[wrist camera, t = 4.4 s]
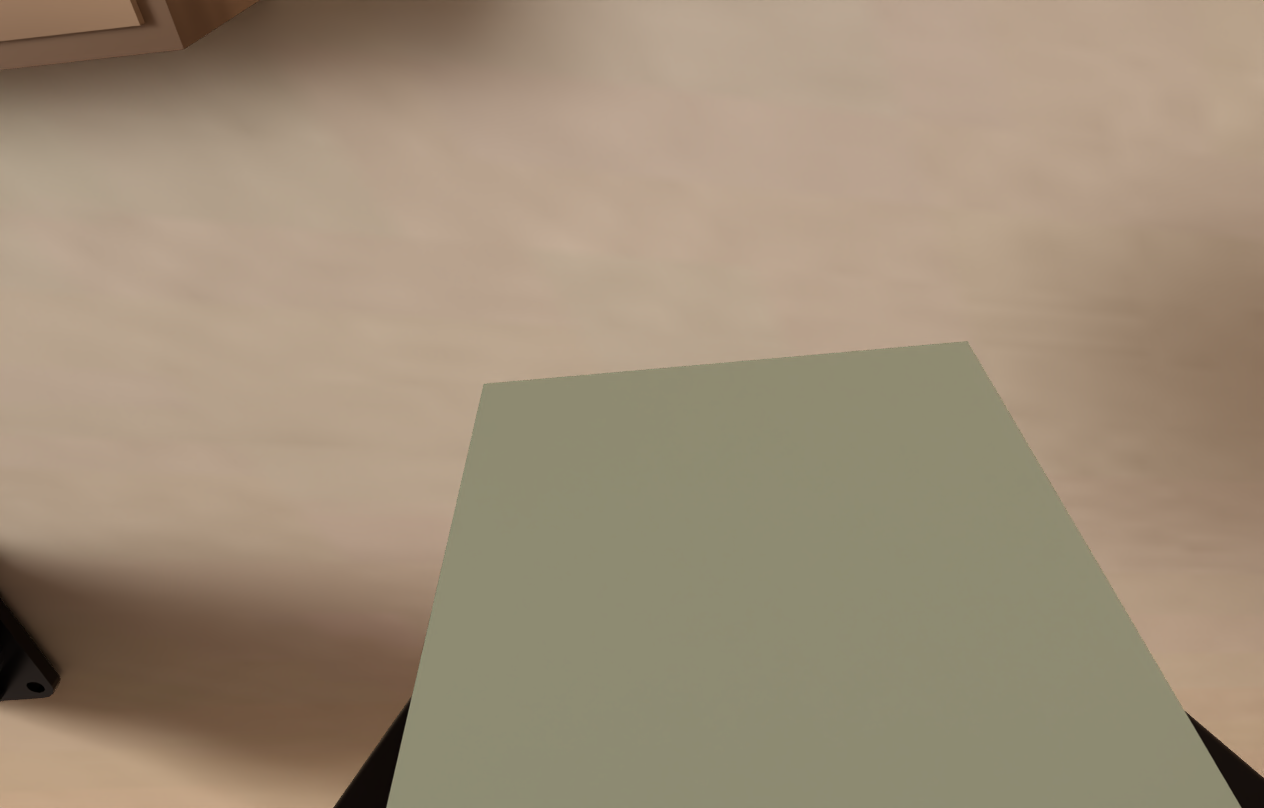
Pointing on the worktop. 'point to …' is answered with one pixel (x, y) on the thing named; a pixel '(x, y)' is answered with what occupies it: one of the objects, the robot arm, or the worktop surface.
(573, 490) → the sage block
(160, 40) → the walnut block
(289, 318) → the worktop surface
